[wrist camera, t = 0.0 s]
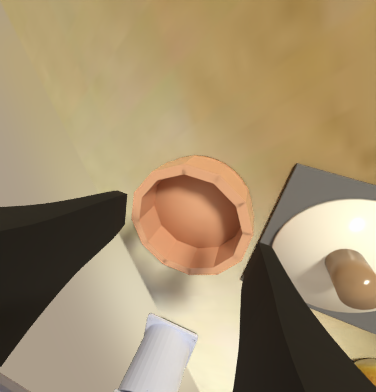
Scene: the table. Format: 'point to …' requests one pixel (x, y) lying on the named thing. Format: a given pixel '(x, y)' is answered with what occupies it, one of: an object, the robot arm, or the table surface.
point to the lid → (332, 254)
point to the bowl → (194, 215)
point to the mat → (310, 195)
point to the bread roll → (368, 368)
